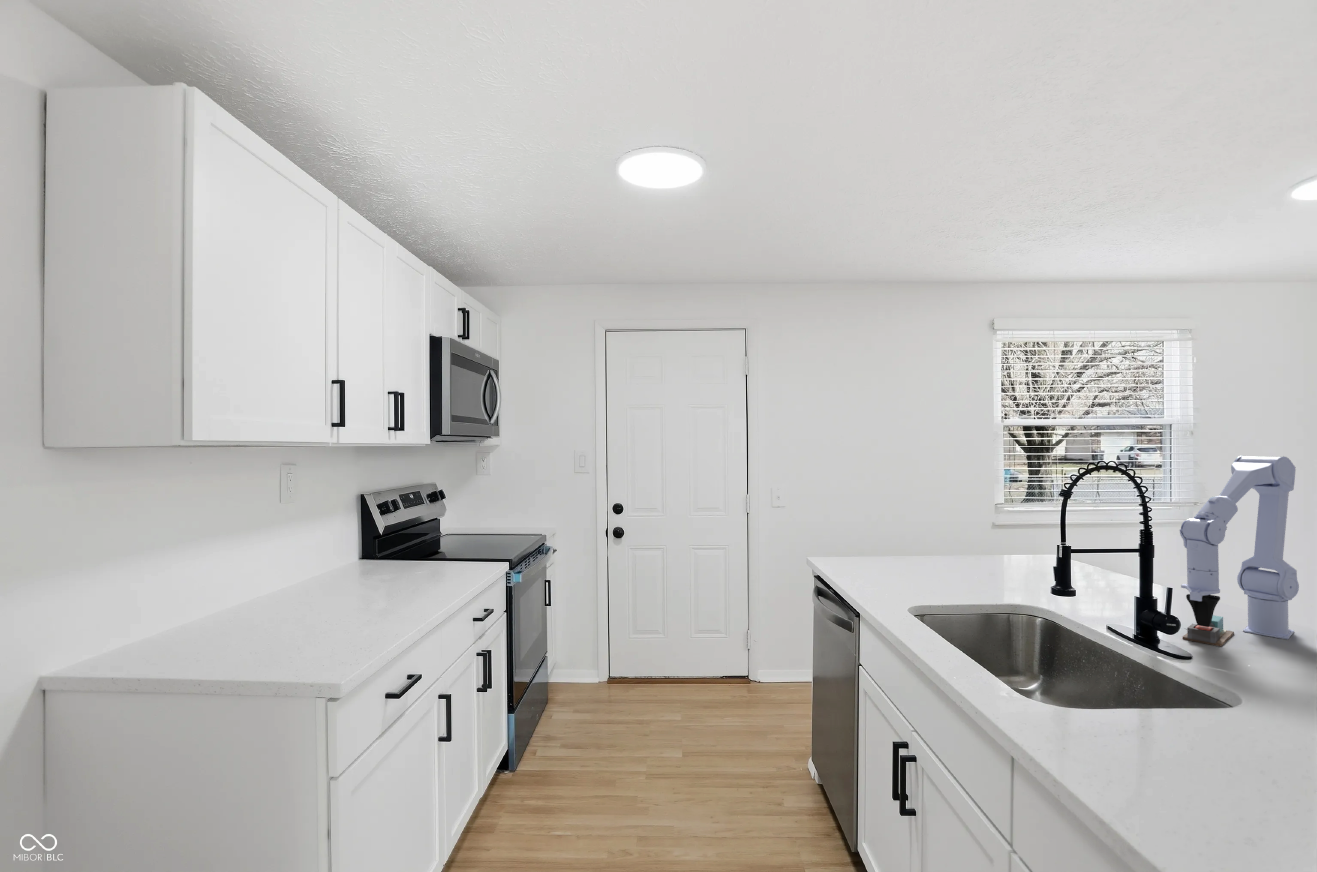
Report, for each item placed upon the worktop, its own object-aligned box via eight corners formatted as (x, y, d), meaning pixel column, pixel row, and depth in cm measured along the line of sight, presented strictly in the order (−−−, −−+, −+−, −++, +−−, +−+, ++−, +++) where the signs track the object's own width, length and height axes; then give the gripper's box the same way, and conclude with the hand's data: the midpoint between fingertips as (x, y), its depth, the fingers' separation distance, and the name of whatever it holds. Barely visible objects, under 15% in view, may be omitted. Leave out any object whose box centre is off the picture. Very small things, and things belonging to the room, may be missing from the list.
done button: (1197, 634, 150) (1197, 624, 150) (1212, 637, 148) (1211, 627, 148) (1195, 636, 148) (1195, 626, 148) (1209, 639, 146) (1209, 629, 146)
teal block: (1206, 626, 157) (1206, 614, 157) (1223, 629, 154) (1223, 616, 154) (1199, 632, 152) (1198, 619, 152) (1216, 635, 150) (1216, 622, 150)
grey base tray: (1197, 627, 158) (1197, 615, 158) (1234, 633, 153) (1233, 621, 153) (1182, 639, 149) (1181, 626, 149) (1220, 646, 144) (1220, 633, 144)
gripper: (1188, 562, 156) (1189, 616, 156) (1173, 570, 147) (1174, 627, 147) (1226, 566, 150) (1227, 622, 150) (1212, 575, 141) (1213, 635, 141)
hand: (1203, 625), depth 148 cm, fingers closed
